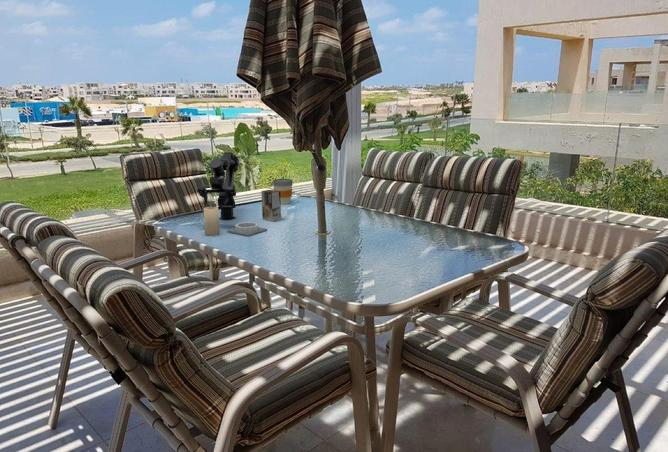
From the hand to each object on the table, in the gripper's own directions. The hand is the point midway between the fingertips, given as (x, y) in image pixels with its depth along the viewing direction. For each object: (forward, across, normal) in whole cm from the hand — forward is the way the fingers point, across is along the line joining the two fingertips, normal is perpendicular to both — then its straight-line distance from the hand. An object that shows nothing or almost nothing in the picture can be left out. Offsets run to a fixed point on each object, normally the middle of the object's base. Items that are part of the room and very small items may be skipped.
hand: (214, 204), depth 251 cm
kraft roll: (+14, 0, +4) cm, 15 cm away
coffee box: (-8, +25, +26) cm, 37 cm away
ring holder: (+11, +16, +8) cm, 21 cm away
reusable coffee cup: (-39, +26, +58) cm, 74 cm away
